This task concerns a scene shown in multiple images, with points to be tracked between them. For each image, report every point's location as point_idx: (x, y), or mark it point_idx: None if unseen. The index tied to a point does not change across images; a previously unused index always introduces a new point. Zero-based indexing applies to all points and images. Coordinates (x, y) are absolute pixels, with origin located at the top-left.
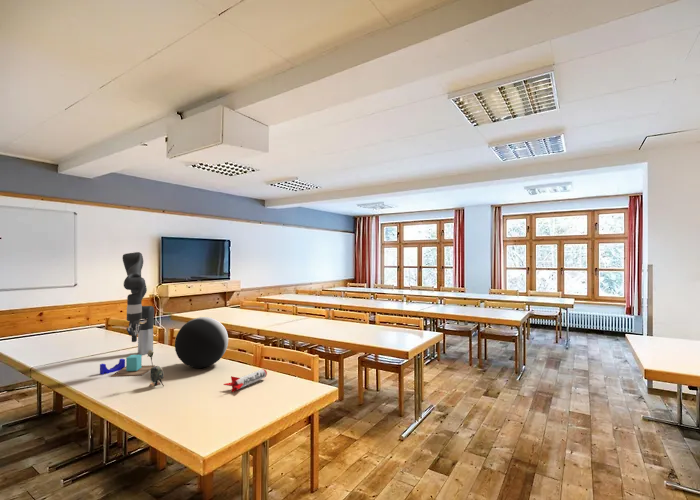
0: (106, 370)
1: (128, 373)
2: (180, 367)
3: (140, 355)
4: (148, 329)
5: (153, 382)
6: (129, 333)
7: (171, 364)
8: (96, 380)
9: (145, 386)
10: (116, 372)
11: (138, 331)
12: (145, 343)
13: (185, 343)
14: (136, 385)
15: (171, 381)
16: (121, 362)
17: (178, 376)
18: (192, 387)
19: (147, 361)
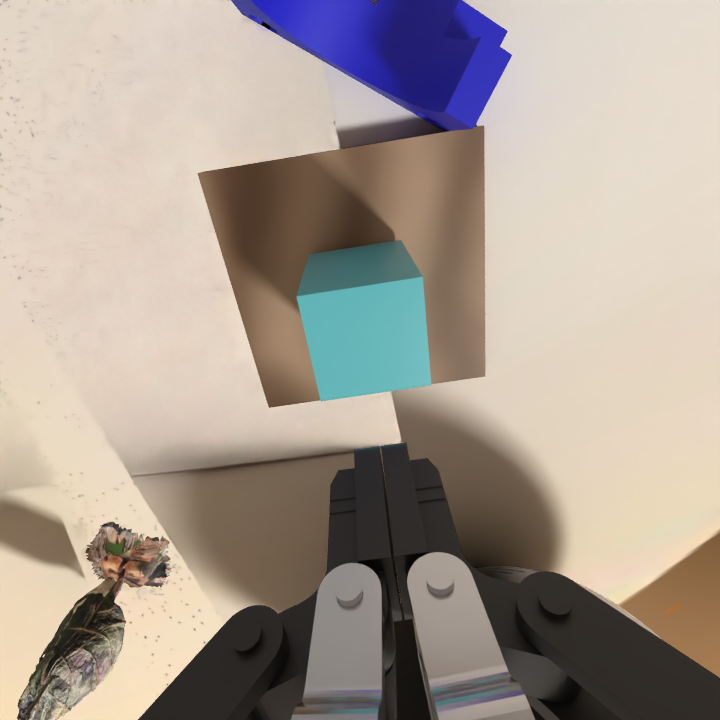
0: (271, 25)
1: (276, 298)
2: (464, 514)
3: (405, 387)
4: None
5: (91, 593)
6: (178, 709)
7: (536, 441)
8: (104, 71)
9: (133, 506)
10: (284, 163)
11: (533, 702)
12: None
13: None
14: (129, 457)
15: (235, 572)
16: (438, 100)
17: (310, 568)
18: (190, 660)
19: (667, 208)
